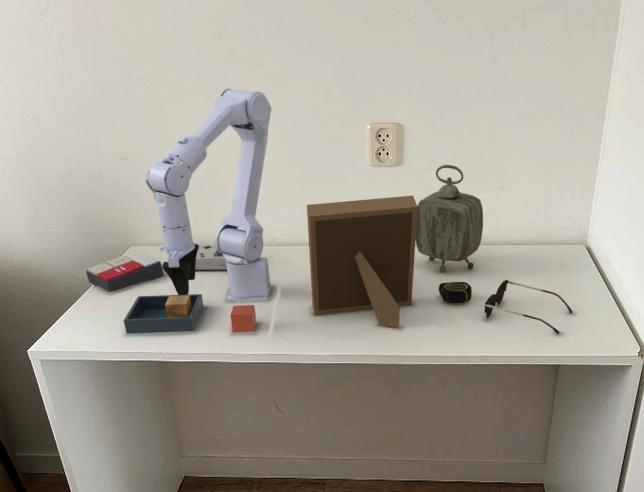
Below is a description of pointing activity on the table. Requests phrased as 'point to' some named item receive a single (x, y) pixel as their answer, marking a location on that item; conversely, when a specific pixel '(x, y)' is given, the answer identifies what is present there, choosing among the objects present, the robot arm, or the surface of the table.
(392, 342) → the table surface
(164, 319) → the bin
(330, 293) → the photo frame
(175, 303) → the maple block
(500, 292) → the sunglasses
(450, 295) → the tape measure
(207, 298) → the table surface
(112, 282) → the red and grey box
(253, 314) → the terracotta block
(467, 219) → the tabletop clock
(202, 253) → the handheld gaming device
